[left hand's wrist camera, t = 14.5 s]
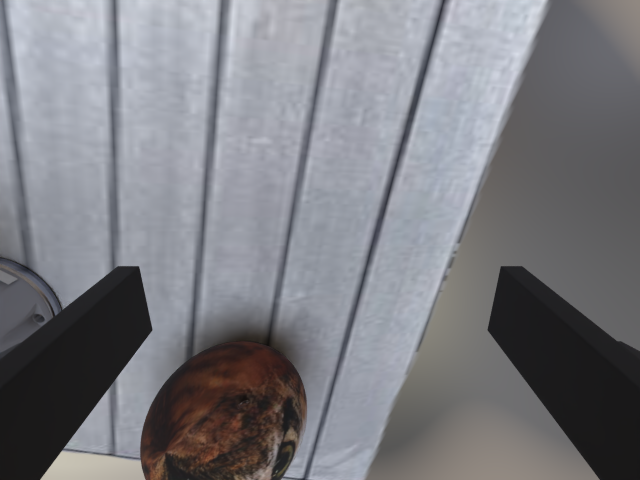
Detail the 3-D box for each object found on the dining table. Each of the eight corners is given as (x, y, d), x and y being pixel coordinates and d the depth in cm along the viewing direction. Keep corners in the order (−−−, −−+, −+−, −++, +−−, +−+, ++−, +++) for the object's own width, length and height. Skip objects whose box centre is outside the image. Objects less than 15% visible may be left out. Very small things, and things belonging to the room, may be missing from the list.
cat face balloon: (258, 491, 52) (132, 594, 34) (210, 383, 59) (85, 422, 41) (369, 416, 45) (283, 494, 28) (299, 304, 52) (197, 312, 35)
